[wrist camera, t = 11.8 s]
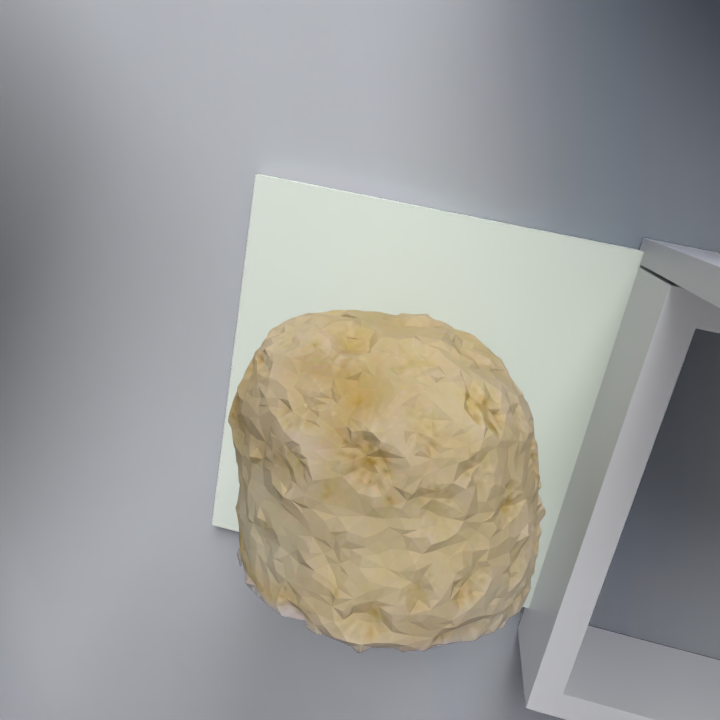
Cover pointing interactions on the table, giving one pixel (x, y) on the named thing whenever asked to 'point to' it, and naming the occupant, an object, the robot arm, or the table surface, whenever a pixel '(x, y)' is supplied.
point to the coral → (385, 480)
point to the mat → (440, 304)
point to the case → (621, 516)
